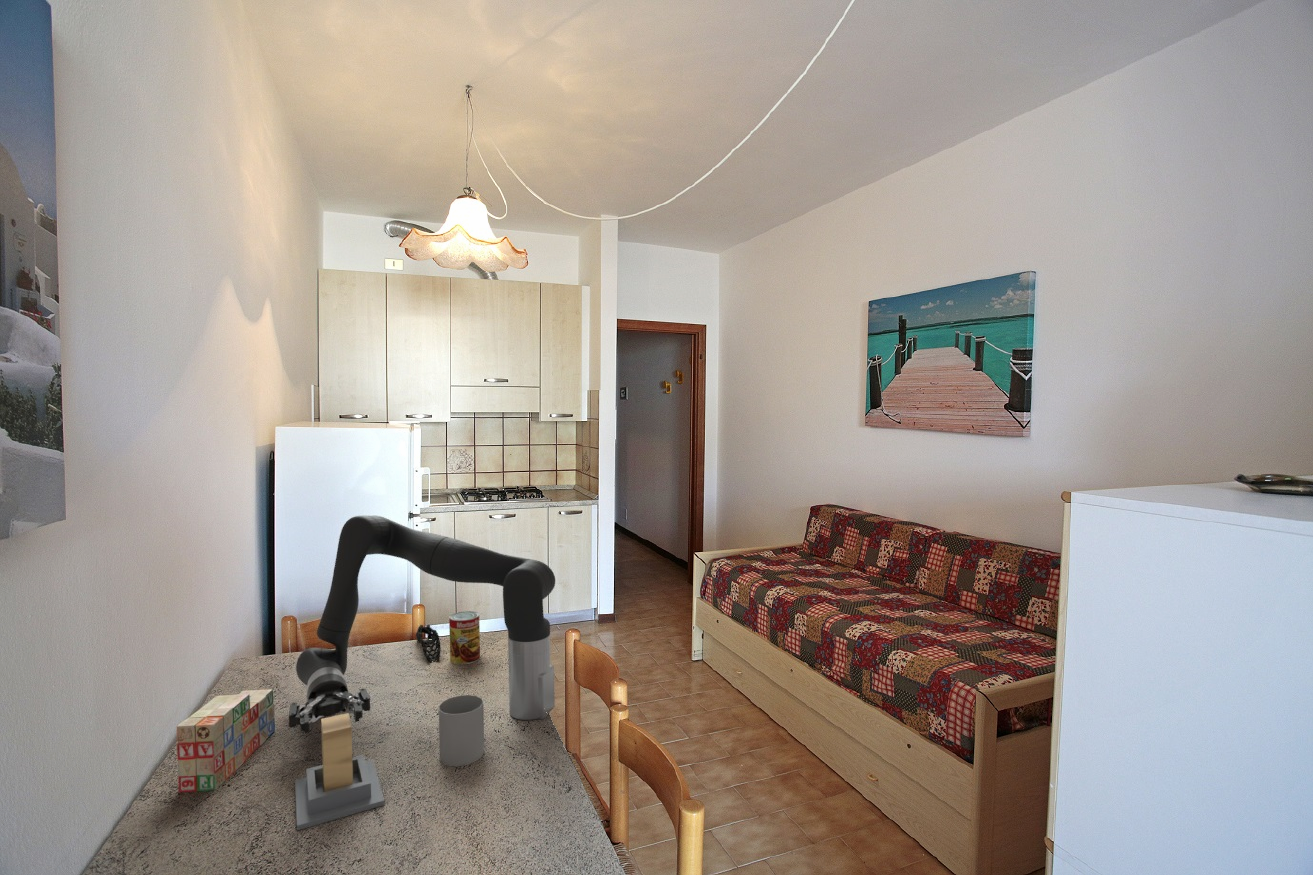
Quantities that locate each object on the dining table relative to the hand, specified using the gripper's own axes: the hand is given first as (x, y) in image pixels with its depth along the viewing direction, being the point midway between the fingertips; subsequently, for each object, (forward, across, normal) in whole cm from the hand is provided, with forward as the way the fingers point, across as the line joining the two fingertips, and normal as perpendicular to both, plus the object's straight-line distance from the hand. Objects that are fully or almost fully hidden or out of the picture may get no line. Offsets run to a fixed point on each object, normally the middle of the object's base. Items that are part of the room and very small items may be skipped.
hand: (332, 722), depth 121 cm
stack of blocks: (-13, -17, +9) cm, 23 cm away
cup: (+8, +22, +9) cm, 25 cm away
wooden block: (+10, 0, +8) cm, 13 cm away
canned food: (-41, +35, +9) cm, 55 cm away
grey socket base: (+10, 0, +8) cm, 14 cm away
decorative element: (-54, +28, +9) cm, 61 cm away
